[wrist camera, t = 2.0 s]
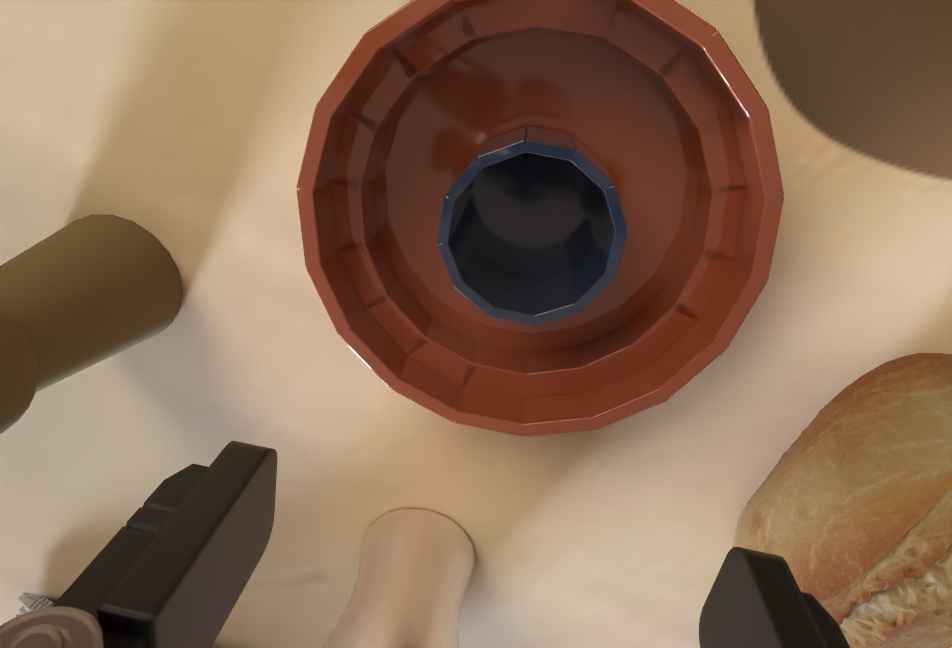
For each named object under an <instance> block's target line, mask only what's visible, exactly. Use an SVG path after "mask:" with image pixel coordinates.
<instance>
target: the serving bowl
mask: <svg viewBox="0 0 952 648" xmlns="http://www.w3.org/2000/svg"><path fill="white" fill-rule="evenodd" d="M525 126H526V127H527V128H528V126H531V127H536V128H542V129H547V130H552V131H557V132H563V133H568V134H570V136H571V135H572V136H573V137H574V138H576V139H577V140H578V141H579V142H580V143H581V144H582V145H583V146H584V147H585V148H586V149H588V150H589V151H590V152H591V153H592V154H593V155H594V156H595V157H596V158H597V159H599V160H600V161H601V162H602V164H603V166H604V167H605V169H606V171H607V172H608V174H609V176H610V177H611V179H612V181H613V183H614V184H615V186H616V189H617V193H618V197H619V200H620V204H621V207H622V211H623V214H624V218H625V222H626V225H627V229H628V231H627V233H628V235H627V238H626V242H625V245H624V249H623V253H622V256H621V260H620V263H619V267H618V270H617V274H616V277H613V278H614V280H613V281H612V282H611V283H610V284H609V285H608V286H607V287H606V288H605V289H604V290H603V291H602V292H601V293H600V294H599V295H598V296H597V297H596V298H595V299H594V300H593V301H592V302H591V303H590V304H589V305H588V306H587V307H586V308H585V309H584V310H583V311H580V312H579V313H577V314H573V315H570V316H566V317H563V318H560V319H556V320H553V321H549V322H546V323H543V324H539V325H536V323H535V325H530V324H525V323H520V322H515V321H510V320H504V319H499V318H494V317H491V315H487V314H486V313H485V312H483V311H482V310H481V309H480V308H479V307H477V306H476V305H475V304H474V303H472V302H471V301H470V300H469V299H467V298H466V297H465V296H464V295H463V294H461V293H460V292H459V291H458V290H456V289H455V286H453V284H452V282H451V279H450V277H449V274H448V272H447V269H446V267H445V264H444V262H443V259H442V257H441V254H440V252H439V249H438V247H437V244H438V243H437V236H438V230H439V223H440V217H441V210H442V203H443V198H444V196H445V194H446V192H447V191H448V189H449V188H450V186H451V185H452V183H453V182H454V180H455V179H456V177H457V176H458V174H459V173H460V172H461V170H462V169H463V168H464V167H465V165H466V164H467V163H468V162H469V161H470V159H471V158H472V157H473V156H474V154H475V153H476V152H477V151H478V150H479V148H480V147H481V146H482V145H483V143H484V142H486V141H487V140H490V139H492V138H495V137H498V136H501V135H503V134H506V133H509V132H511V131H514V130H517V129H520V128H522V127H525ZM783 195H784V192H783V187H782V181H781V176H780V170H779V165H778V159H777V154H776V148H775V143H774V137H773V132H772V126H771V121H770V115H769V110H768V109H767V105H766V104H765V102H764V101H763V99H762V98H761V96H760V95H759V93H758V91H757V90H756V88H755V87H754V85H753V84H752V82H751V81H750V79H749V78H748V76H747V74H746V73H745V71H744V70H743V68H742V67H741V65H740V64H739V62H738V61H737V59H736V57H735V56H734V54H733V53H732V51H731V50H730V48H729V47H728V45H727V44H726V42H725V40H724V39H723V37H722V36H721V34H720V33H719V31H716V28H715V27H713V26H712V25H710V24H709V23H707V22H706V21H704V20H703V19H701V18H700V17H698V16H697V15H695V14H694V13H692V12H691V11H689V10H688V9H686V8H685V7H683V6H682V5H680V4H679V3H677V2H676V1H674V0H411V1H410V2H409V3H407V4H406V5H404V6H403V7H401V8H400V9H398V10H397V11H395V12H394V13H393V14H391V15H390V16H388V17H387V18H385V19H384V20H382V21H381V22H379V23H378V24H377V25H375V26H374V27H372V28H371V29H369V30H368V31H367V33H365V34H364V35H363V37H362V38H361V40H360V41H359V43H358V44H357V46H356V47H355V49H354V50H353V52H352V53H351V55H350V56H349V57H348V59H347V60H346V62H345V63H344V65H343V66H342V68H341V69H340V71H339V72H338V74H337V75H336V77H335V78H334V80H333V81H332V83H331V84H330V86H329V87H328V89H327V90H326V92H325V93H324V95H323V96H322V98H321V99H320V100H319V102H318V103H317V105H316V108H315V111H314V115H313V120H312V124H311V128H310V132H309V137H308V141H307V145H306V149H305V154H304V158H303V162H302V166H301V171H300V175H299V179H298V183H297V197H298V205H299V214H300V222H301V231H302V239H303V248H304V256H305V265H306V267H307V271H308V273H309V275H310V277H311V279H312V281H313V283H314V286H315V288H316V290H317V292H318V294H319V296H320V298H321V300H322V302H323V304H324V306H325V308H326V310H327V312H328V314H329V316H330V319H331V321H332V323H333V325H334V327H335V329H336V331H337V333H338V335H340V338H341V339H342V340H343V341H344V342H345V343H346V344H347V345H348V346H349V347H350V348H351V349H352V350H353V351H354V352H355V353H356V354H357V355H358V356H359V357H360V358H361V359H362V360H363V361H364V362H365V363H366V364H367V365H368V366H369V367H370V368H371V370H372V371H373V372H374V373H375V374H376V375H377V376H378V377H379V378H380V379H381V380H382V381H383V382H384V383H385V384H386V385H387V386H388V387H389V388H390V389H392V390H394V391H395V392H397V393H399V394H401V395H403V396H405V397H406V398H408V399H410V400H412V401H414V402H416V403H418V404H419V405H421V406H423V407H425V408H427V409H429V410H431V411H432V412H434V413H436V414H438V415H440V416H442V417H444V418H445V419H447V420H449V421H451V422H454V423H458V424H463V425H468V426H473V427H478V428H483V429H488V430H493V431H498V432H503V433H508V434H513V435H518V436H536V435H546V434H556V433H566V432H577V431H587V430H595V429H600V428H602V427H605V426H607V425H609V424H612V423H614V422H617V421H619V420H621V419H624V418H626V417H629V416H631V415H633V414H636V413H638V412H641V411H643V410H645V409H648V408H650V407H652V406H655V405H657V404H660V403H662V402H664V401H666V400H667V399H669V398H670V397H671V396H672V395H673V394H674V393H676V392H677V391H678V390H679V389H680V388H682V387H683V386H684V385H685V384H686V383H687V382H689V381H690V380H691V379H692V378H693V377H694V376H696V375H697V374H698V373H699V372H700V371H702V370H703V369H704V368H705V367H706V366H707V365H709V364H710V363H711V362H712V361H713V360H714V359H716V358H717V357H718V356H719V355H720V354H722V353H723V352H724V351H725V349H727V347H728V346H729V344H730V342H731V341H732V339H733V337H734V336H735V334H736V332H737V331H738V329H739V327H740V326H741V324H742V322H743V321H744V319H745V317H746V316H747V314H748V312H749V311H750V309H751V307H752V306H753V304H754V302H755V301H756V299H757V297H758V296H759V294H760V292H761V291H762V289H763V287H764V286H765V284H766V282H767V280H766V279H768V276H769V271H770V266H771V261H772V256H773V250H774V245H775V240H776V235H777V230H778V225H779V220H780V215H781V210H782V204H783V199H784V198H783Z"/></svg>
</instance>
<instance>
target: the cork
mask: <svg viewBox="0 0 952 648" xmlns="http://www.w3.org/2000/svg"><path fill="white" fill-rule="evenodd" d="M181 297H182V287H181V282H180V277H179V272H178V269H177V268H176V266H175V264H174V262H173V260H172V258H171V256H170V254H169V253H168V251H167V250H166V249H165V248H164V247H163V246H162V244H161V243H160V242H159V241H158V240H157V239H156V238H155V237H154V236H153V235H152V234H151V233H149V232H148V231H146V230H145V229H143V228H142V227H140V226H138V225H137V224H135V223H134V222H132V221H129V220H126V219H122V218H119V217H116V216H113V215H90V216H88V217H85V218H82V219H79V220H76V221H74V222H72V223H71V224H69V225H67V226H66V227H64V228H62V229H61V230H59V231H57V232H56V233H54V234H52V235H51V236H49V237H47V238H46V239H44V240H42V241H41V242H39V243H37V244H36V245H34V246H33V247H31V248H29V249H28V250H26V251H24V252H23V253H21V254H19V255H18V256H16V257H14V258H13V259H11V260H9V261H8V262H6V263H4V264H3V265H1V266H0V434H1V433H3V432H4V431H5V430H7V429H8V428H9V427H10V426H12V425H13V424H14V423H15V422H17V421H18V420H19V419H20V418H21V416H22V415H23V414H24V413H25V411H26V410H27V409H28V407H29V406H30V403H31V401H32V399H33V397H34V395H35V392H37V391H40V390H42V389H44V388H46V387H48V386H50V385H52V384H54V383H56V382H58V381H60V380H63V379H65V378H67V377H69V376H71V375H73V374H75V373H77V372H79V371H81V370H83V369H86V368H88V367H90V366H92V365H94V364H96V363H98V362H100V361H102V360H104V359H107V358H109V357H111V356H113V355H115V354H117V353H119V352H121V351H123V350H125V349H127V348H130V347H132V346H134V345H136V344H138V343H140V342H142V341H144V340H146V339H148V338H150V337H153V336H155V335H157V334H159V333H160V332H161V331H163V330H164V329H165V328H166V327H168V326H169V325H170V324H172V322H173V320H174V319H175V317H176V315H177V313H178V311H179V309H180V305H181Z"/></svg>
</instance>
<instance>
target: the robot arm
mask: <svg viewBox="0 0 952 648" xmlns="http://www.w3.org/2000/svg"><path fill="white" fill-rule="evenodd" d="M276 474H277V452H276V450H275V449H271V448H266V447H261V446H256V445H251V444H247V443H242V442H237V441H231V442H230V443H228V444H227V446H226V447H225V448H224V449H223V450H222V452H221V453H220V454H219V455H218V457H217V458H216V459H215V460H214V462H213V463H212V464H211V465H210V467H206V466H201V465H197V464H191V465H190V466H188V467H186V468H185V469H183V470H181V471H179V472H178V473H176V474H174V475H172V476H171V477H169V478H167V479H165V480H164V481H163V482H162V483H161V484H160V485H159V487H158V488H157V489H156V490H155V491H154V492H153V493H152V494H151V496H150V497H149V498H148V499H147V500H146V501H145V502H144V505H143V507H142V508H139V509H138V510H137V511H136V512H135V514H134V515H133V516H132V517H131V518H130V519H129V520H128V522H127V525H126V527H122V528H121V529H120V531H119V532H118V533H117V534H116V535H115V536H114V537H113V538H112V540H111V541H110V542H109V543H108V544H107V545H106V546H105V548H104V549H103V550H102V551H101V552H100V553H99V554H98V555H97V557H96V558H95V559H94V560H93V561H92V562H91V563H90V564H89V566H88V567H87V568H86V569H85V570H84V571H83V572H82V573H81V575H80V576H79V577H78V578H77V579H76V580H75V581H74V583H73V584H72V585H71V586H70V587H69V588H68V589H67V590H66V592H65V593H64V594H63V595H62V596H61V597H60V598H59V599H58V600H57V601H56V603H55V604H54V605H53V606H52V607H48V608H43V609H38V610H34V611H31V612H28V613H25V614H23V615H20V616H18V617H16V618H13V619H11V620H10V621H8V622H6V623H4V624H3V625H1V626H0V648H211V647H212V645H213V643H214V641H215V639H216V638H217V636H218V634H219V632H220V630H221V629H222V627H223V625H224V623H225V621H226V620H227V618H228V616H229V614H230V612H231V611H232V609H233V607H234V605H235V603H236V602H237V600H238V598H239V596H240V594H241V593H242V591H243V589H244V587H245V585H246V584H247V582H248V580H249V578H250V576H251V575H252V573H253V571H254V569H255V567H256V566H257V564H258V562H259V560H260V558H261V557H262V555H263V553H264V551H265V549H266V546H267V544H268V541H269V538H270V534H271V531H272V527H273V521H274V510H275V492H276ZM699 641H700V647H701V648H850V646H849V644H848V642H847V640H846V638H845V636H844V634H843V632H842V630H841V628H840V627H839V625H838V623H837V622H836V621H835V619H834V618H833V617H832V616H831V615H830V614H829V613H828V612H827V611H826V609H825V608H824V607H823V606H822V605H821V604H820V603H819V602H818V601H817V600H816V598H815V597H814V596H813V595H812V594H809V593H804V592H801V591H800V588H799V586H798V584H797V582H796V580H795V578H794V576H793V574H792V572H791V570H790V568H789V566H788V564H787V562H786V561H785V559H784V558H783V557H781V556H779V555H775V554H770V553H766V552H761V551H756V550H751V549H746V548H741V547H733V548H732V549H731V550H730V551H729V552H728V554H727V556H726V558H725V560H724V562H723V565H722V567H721V569H720V571H719V573H718V576H717V578H716V580H715V582H714V584H713V587H712V589H711V591H710V593H709V595H708V597H707V600H706V602H705V604H704V606H703V609H702V612H701V616H700V622H699Z"/></svg>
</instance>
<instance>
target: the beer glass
mask: <svg viewBox="0 0 952 648" xmlns="http://www.w3.org/2000/svg"><path fill="white" fill-rule="evenodd" d="M474 564H475V555H474V549H473V546H472V543H471V541H470V539H469V537H468V536H467V534H466V533H465V532H464V531H463V529H462V528H461V527H460V526H458V525H457V524H456V523H455V522H453V521H452V520H450V519H449V518H447V517H445V516H443V515H441V514H438V513H436V512H432V511H429V510H424V509H401V510H396V511H393V512H390V513H387V514H385V515H383V516H382V517H380V518H379V519H377V520H376V521H375V522H374V523H373V524H372V525H371V526H370V528H369V529H368V531H367V532H366V534H365V537H364V540H363V544H362V549H361V557H360V566H359V573H358V579H357V583H356V586H355V589H354V592H353V594H352V596H351V599H350V601H349V603H348V605H347V607H346V608H345V610H344V612H343V614H342V616H341V617H340V619H339V621H338V623H337V624H336V626H335V628H334V629H333V631H332V633H331V634H330V636H329V638H328V639H327V641H326V643H325V644H324V646H323V648H459V629H458V628H459V614H460V609H461V604H462V601H463V597H464V595H465V592H466V589H467V587H468V584H469V582H470V579H471V576H472V573H473V569H474Z"/></svg>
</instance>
